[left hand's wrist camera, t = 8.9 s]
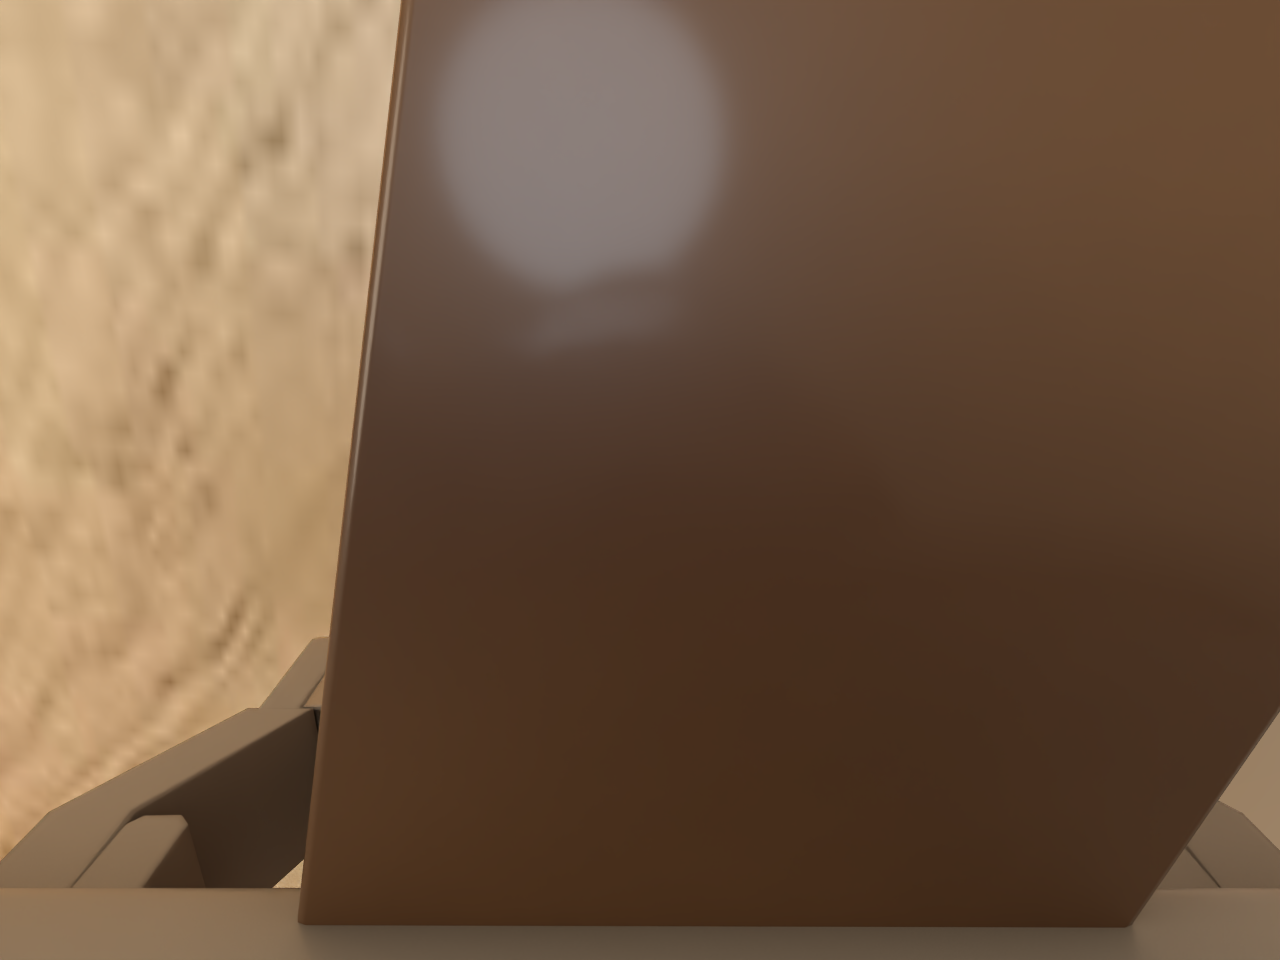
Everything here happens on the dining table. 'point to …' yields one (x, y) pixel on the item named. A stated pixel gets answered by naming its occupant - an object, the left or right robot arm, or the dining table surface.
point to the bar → (806, 464)
